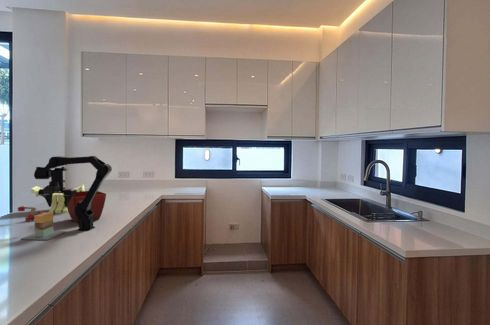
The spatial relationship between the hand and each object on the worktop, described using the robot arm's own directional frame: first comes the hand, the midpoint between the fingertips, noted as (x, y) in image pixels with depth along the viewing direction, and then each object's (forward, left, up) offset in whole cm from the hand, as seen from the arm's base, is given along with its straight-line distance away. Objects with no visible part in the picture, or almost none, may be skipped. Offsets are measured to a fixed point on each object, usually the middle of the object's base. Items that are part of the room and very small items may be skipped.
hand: (58, 207), depth 165 cm
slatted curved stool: (+32, -45, -13) cm, 57 cm away
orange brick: (0, +11, -5) cm, 12 cm away
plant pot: (-1, -23, -13) cm, 27 cm away
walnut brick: (0, +11, -9) cm, 14 cm away
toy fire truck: (+30, -17, -13) cm, 37 cm away
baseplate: (0, +11, -13) cm, 17 cm away
